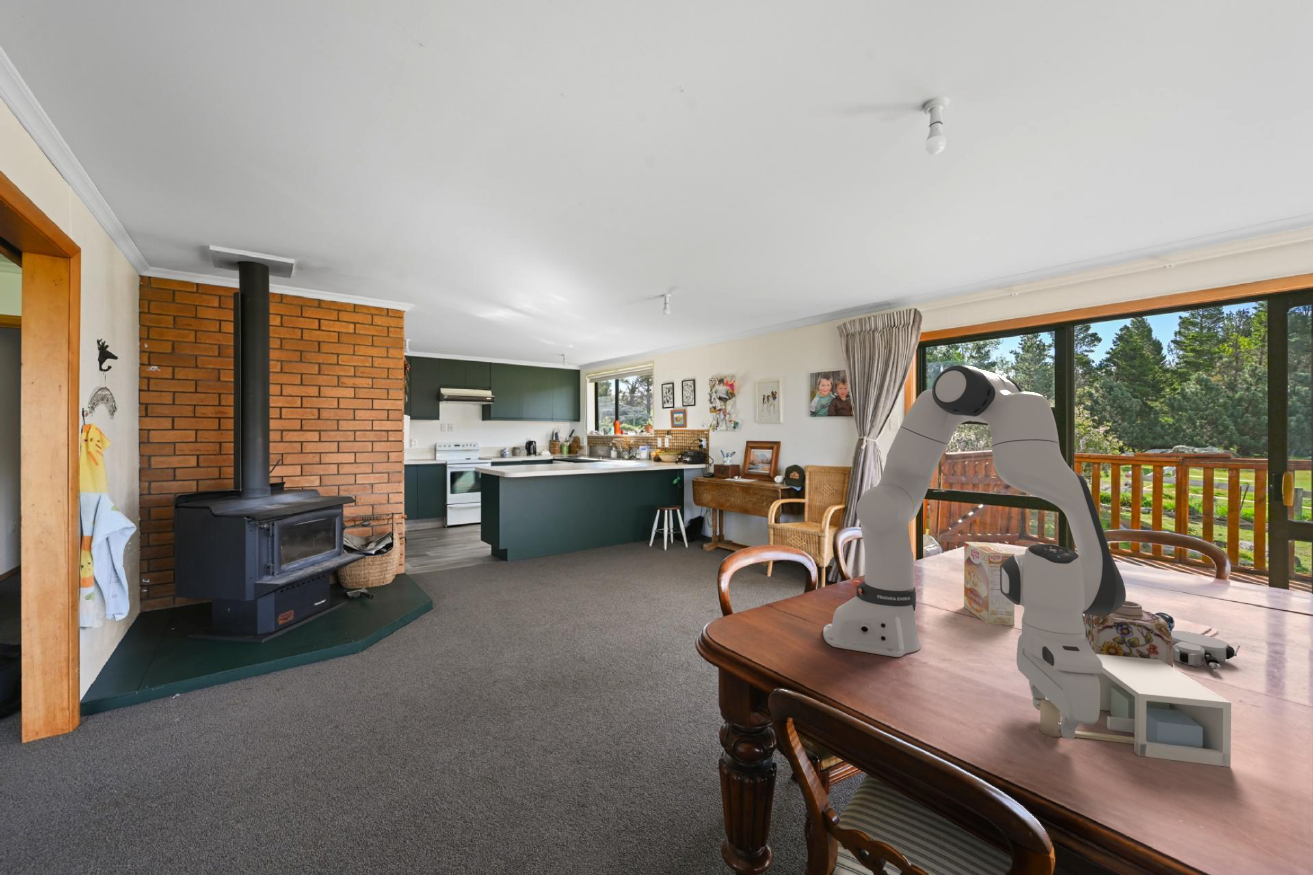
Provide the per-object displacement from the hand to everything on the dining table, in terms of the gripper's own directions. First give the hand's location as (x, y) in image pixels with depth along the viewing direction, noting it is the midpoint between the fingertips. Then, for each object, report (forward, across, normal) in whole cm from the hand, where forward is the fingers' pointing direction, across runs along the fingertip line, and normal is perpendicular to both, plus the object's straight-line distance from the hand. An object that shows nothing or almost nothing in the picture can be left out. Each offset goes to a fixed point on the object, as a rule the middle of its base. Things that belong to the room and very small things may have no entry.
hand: (1052, 721), depth 91 cm
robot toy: (+2, -41, +46) cm, 62 cm away
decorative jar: (+2, -20, +21) cm, 29 cm away
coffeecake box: (+2, -63, +12) cm, 64 cm away
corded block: (+2, 0, +9) cm, 9 cm away
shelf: (+2, -4, +16) cm, 17 cm away
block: (+2, -7, +17) cm, 18 cm away
